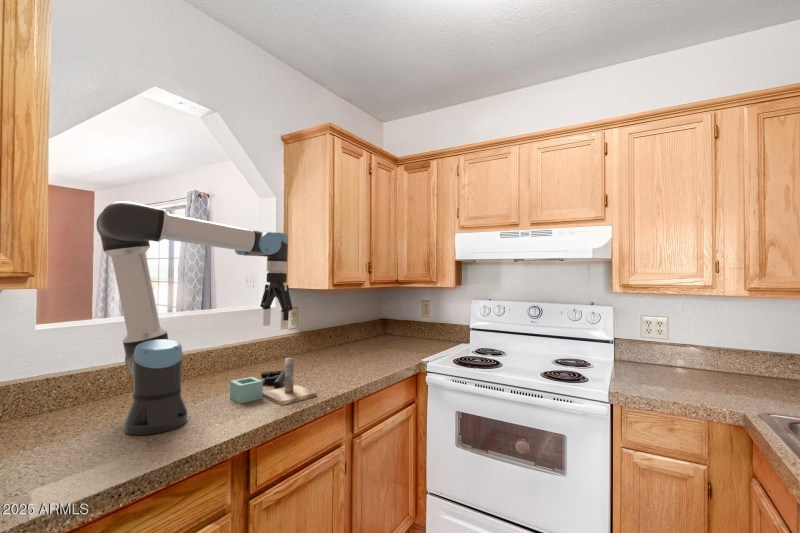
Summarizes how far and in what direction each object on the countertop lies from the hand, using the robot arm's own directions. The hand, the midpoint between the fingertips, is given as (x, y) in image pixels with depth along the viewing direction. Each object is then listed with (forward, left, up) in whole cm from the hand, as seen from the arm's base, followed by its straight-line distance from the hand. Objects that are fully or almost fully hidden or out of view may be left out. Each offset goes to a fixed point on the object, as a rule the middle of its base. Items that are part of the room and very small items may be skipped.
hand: (275, 327), depth 145 cm
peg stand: (-1, -14, -23) cm, 27 cm away
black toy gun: (+2, +8, -24) cm, 25 cm away
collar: (-13, -6, -23) cm, 27 cm away
